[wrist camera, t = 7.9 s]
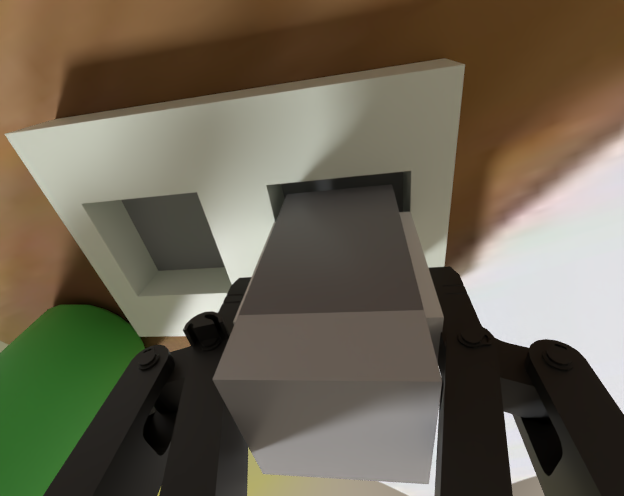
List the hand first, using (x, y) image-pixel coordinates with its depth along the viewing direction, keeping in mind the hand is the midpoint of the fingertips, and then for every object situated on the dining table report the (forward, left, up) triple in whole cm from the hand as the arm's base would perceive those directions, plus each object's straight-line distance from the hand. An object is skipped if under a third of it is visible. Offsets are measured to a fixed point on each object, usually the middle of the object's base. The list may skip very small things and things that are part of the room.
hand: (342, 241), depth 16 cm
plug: (0, 0, -1) cm, 1 cm away
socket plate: (0, -5, -3) cm, 6 cm away
